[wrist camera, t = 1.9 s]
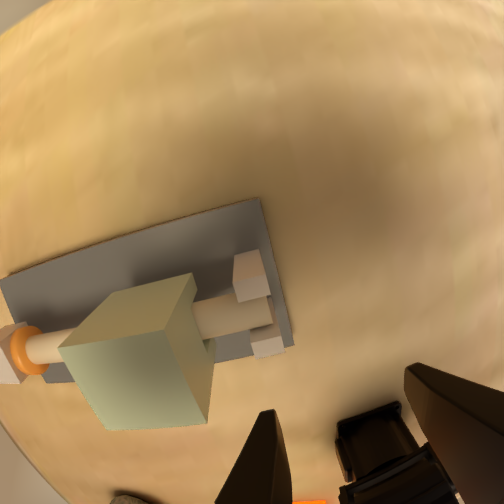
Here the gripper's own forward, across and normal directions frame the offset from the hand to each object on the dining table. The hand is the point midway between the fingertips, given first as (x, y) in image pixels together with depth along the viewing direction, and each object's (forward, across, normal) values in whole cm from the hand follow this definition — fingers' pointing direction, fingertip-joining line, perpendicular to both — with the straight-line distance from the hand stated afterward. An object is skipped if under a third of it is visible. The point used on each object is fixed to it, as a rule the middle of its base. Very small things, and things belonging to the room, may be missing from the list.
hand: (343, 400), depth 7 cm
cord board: (+13, +12, 0) cm, 17 cm away
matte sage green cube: (+9, +7, 0) cm, 12 cm away
